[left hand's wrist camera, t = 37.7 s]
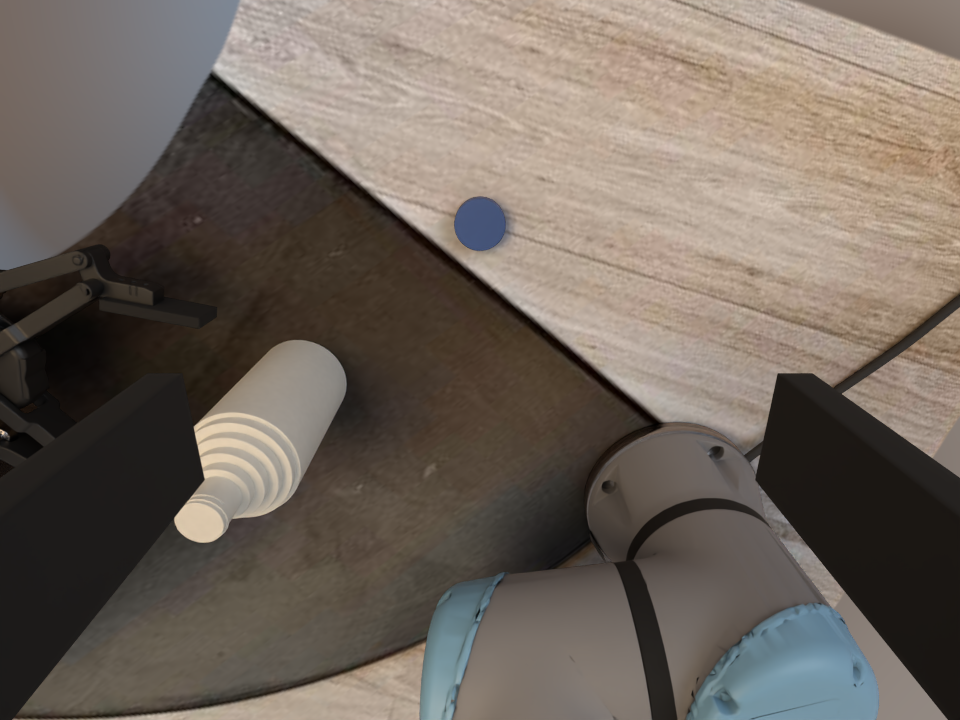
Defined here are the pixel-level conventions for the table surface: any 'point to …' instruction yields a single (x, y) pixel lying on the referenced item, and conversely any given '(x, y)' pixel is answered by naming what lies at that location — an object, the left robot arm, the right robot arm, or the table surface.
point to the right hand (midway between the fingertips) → (206, 404)
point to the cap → (479, 223)
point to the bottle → (262, 437)
